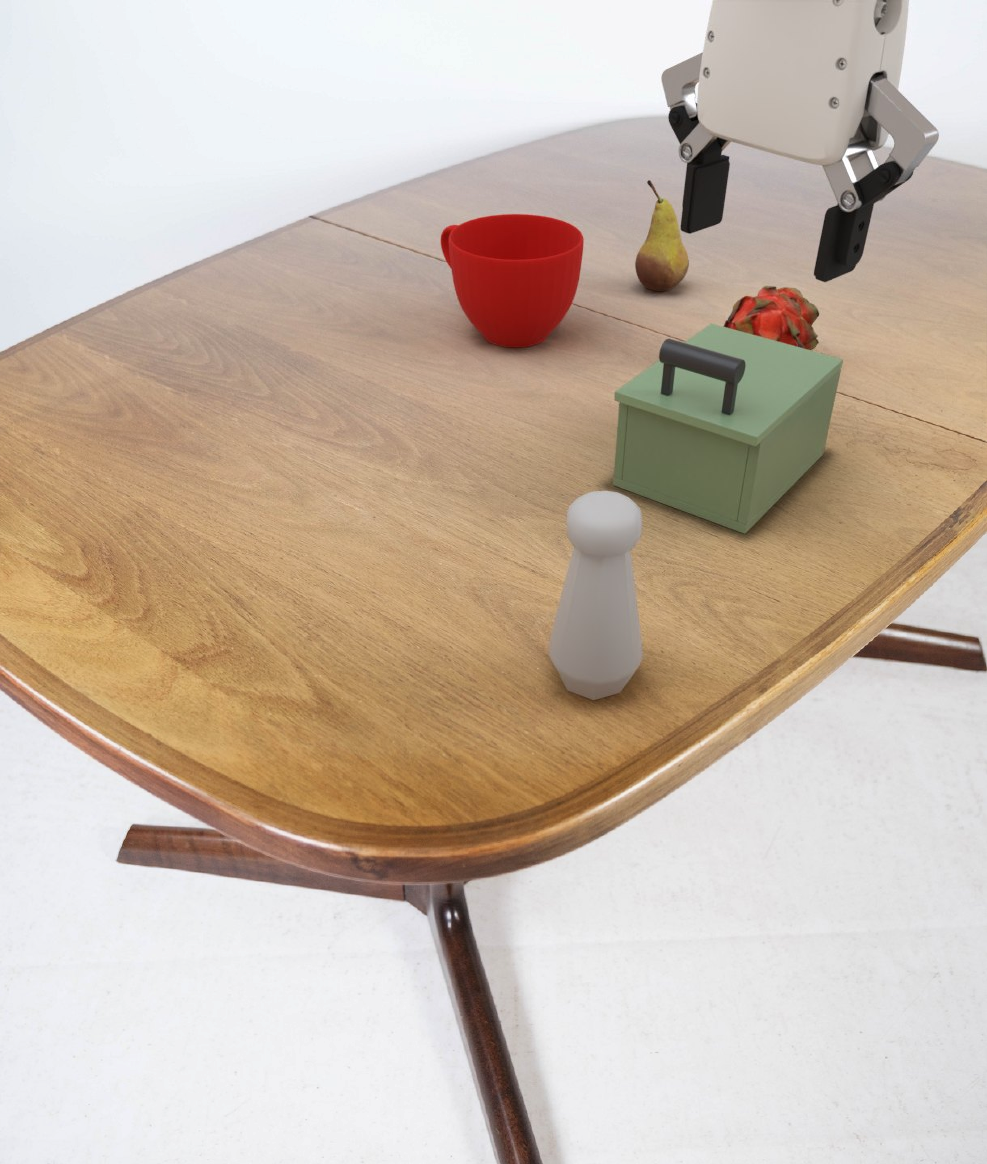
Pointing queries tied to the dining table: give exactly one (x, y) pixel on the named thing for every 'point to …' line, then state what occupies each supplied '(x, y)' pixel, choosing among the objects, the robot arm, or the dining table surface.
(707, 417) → the lid
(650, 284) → the fruit
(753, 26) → the robot arm
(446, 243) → the ceramic cup
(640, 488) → the holder
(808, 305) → the dragon fruit
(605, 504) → the salt shaker
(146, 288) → the dining table surface
